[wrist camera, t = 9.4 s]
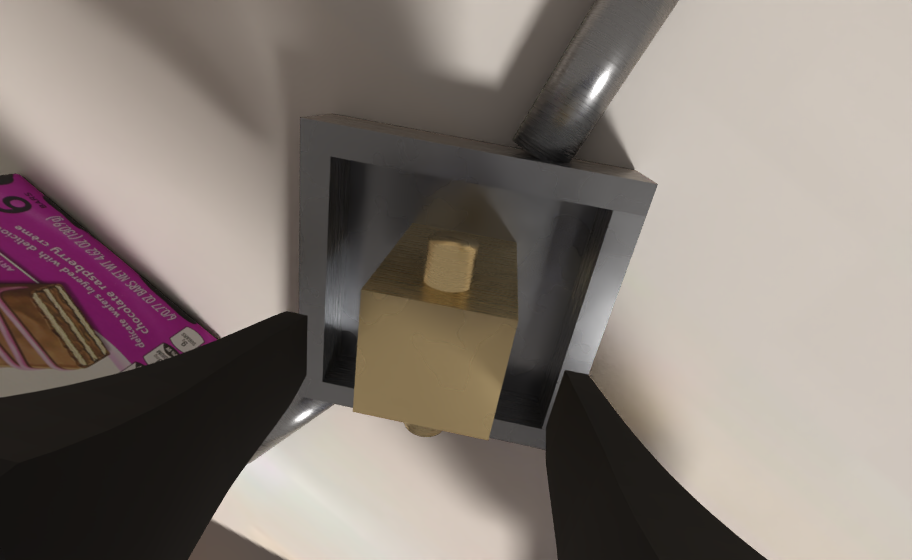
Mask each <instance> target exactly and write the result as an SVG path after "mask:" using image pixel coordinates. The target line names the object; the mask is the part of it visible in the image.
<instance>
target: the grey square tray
mask: <svg viewBox="0 0 912 560" xmlns="http://www.w3.org/2000/svg"><path fill="white" fill-rule="evenodd" d="M657 185H658V184H657V183H655V182H654V181H652V180H650V179H649V178H647V177H646V176H644V175H643V174H641V173H639V172H638V171H636V170H632V169H627V168H621V167H616V166H611V165H605V164H600V163H594V162H589V161H584V160H578V159H572V160H571V162H570V163H557V162H549V161H543V160H540V159H538V158H537V157H535V156H534V155H532V154H531V153H529V152H528V151H526V150H524V149H519V148H514V147H508V146H503V145H497V144H492V143H487V142H481V141H476V140H471V139H465V138H460V137H454V136H449V135H444V134H438V133H433V132H427V131H422V130H417V129H411V128H406V127H401V126H395V125H390V124H384V123H379V122H374V121H368V120H363V119H357V118H352V117H347V116H341V115H336V114H326V115H317V116H308V117H300V239H299V314H302V315H307V316H308V325H307V375H306V377H305V379H304V381H303V383H302V385H301V387H300V389H299V390H298V396H301V397H306V398H310V399H315V400H319V401H324V402H328V403H333V404H338V405H342V406H347V407H351V408H353V401H354V386H355V372H356V357H357V342H358V328H359V313H360V298H361V289H362V288H363V286H364V285H365V284H366V283H367V281H368V280H369V279H370V277H371V276H372V275H373V274H374V272H375V271H376V270H377V268H378V267H379V266H380V264H381V263H382V262H383V261H384V259H385V258H386V257H387V255H388V254H389V253H390V252H391V250H392V249H393V248H394V246H395V245H396V244H397V242H398V241H399V240H400V239H401V237H402V236H403V235H404V233H405V232H406V231H407V230H408V228H409V227H410V226H411V224H412V223H416V224H421V225H427V226H432V227H437V228H443V229H448V230H453V231H458V232H464V233H469V234H474V235H480V236H485V237H490V238H495V239H501V240H506V241H511V242H517V278H518V324H517V328H516V332H515V336H514V340H513V344H512V348H511V352H510V356H509V360H508V364H507V368H506V372H505V376H504V380H503V384H502V388H501V392H500V396H499V400H498V404H497V408H496V412H495V416H494V420H493V424H492V428H491V432H490V436H489V438H494V439H498V440H503V441H507V442H512V443H517V444H521V445H526V446H530V447H535V448H540V449H544V450H546V425H547V422H548V419H549V416H550V413H551V410H552V407H553V404H554V401H555V398H556V395H557V392H558V389H559V386H560V383H561V380H562V377H563V374H564V371H565V370H569V371H574V372H578V373H583V374H588V375H589V372H590V369H591V366H592V364H593V361H594V358H595V355H596V353H597V350H598V347H599V344H600V342H601V339H602V336H603V333H604V331H605V328H606V325H607V322H608V320H609V317H610V314H611V311H612V309H613V306H614V303H615V300H616V298H617V295H618V292H619V289H620V287H621V284H622V281H623V278H624V276H625V273H626V270H627V267H628V265H629V262H630V259H631V256H632V254H633V251H634V248H635V245H636V243H637V240H638V237H639V234H640V232H641V229H642V226H643V224H644V221H645V218H646V215H647V213H648V210H649V207H650V204H651V202H652V199H653V196H654V193H655V191H656V188H657Z"/></svg>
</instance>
